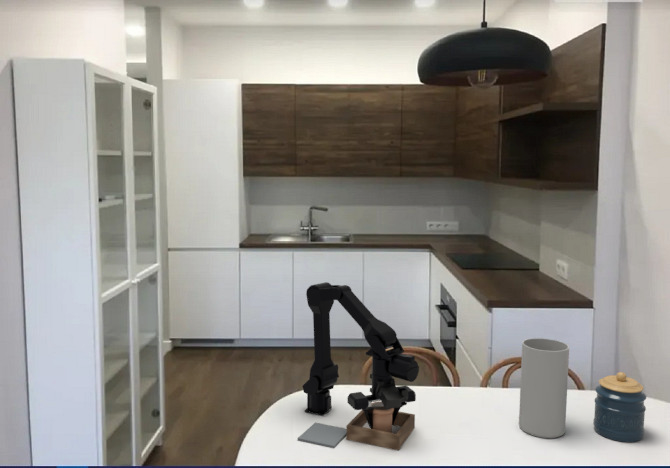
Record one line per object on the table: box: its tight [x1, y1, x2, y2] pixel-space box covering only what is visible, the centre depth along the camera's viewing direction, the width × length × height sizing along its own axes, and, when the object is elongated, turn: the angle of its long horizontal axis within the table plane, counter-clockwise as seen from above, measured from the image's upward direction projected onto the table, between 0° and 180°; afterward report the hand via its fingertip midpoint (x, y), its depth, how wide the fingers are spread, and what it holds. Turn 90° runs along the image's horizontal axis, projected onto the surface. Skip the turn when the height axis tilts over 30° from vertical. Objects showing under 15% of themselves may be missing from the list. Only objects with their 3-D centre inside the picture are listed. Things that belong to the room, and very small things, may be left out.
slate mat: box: [297, 422, 347, 449], centre depth 160 cm, size 11×11×1 cm
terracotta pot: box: [371, 401, 394, 433], centre depth 161 cm, size 7×7×8 cm
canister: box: [593, 371, 647, 443], centre depth 162 cm, size 13×13×18 cm
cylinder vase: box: [518, 337, 570, 439], centre depth 164 cm, size 12×12×25 cm
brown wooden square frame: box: [345, 410, 416, 451], centre depth 161 cm, size 15×15×4 cm
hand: (381, 426), depth 161 cm, fingers closed on terracotta pot, 6 cm apart
